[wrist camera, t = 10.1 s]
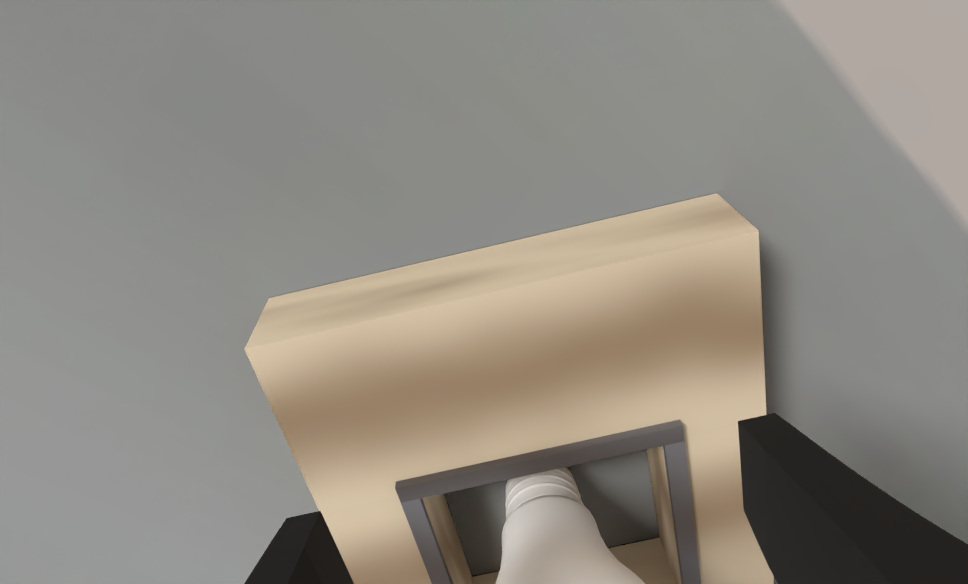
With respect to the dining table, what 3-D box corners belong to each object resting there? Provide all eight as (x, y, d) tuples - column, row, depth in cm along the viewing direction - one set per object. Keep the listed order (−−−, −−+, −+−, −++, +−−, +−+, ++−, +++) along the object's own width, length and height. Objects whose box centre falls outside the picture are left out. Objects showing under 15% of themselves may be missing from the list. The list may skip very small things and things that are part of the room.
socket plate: (747, 622, 29) (781, 697, 26) (434, 685, 30) (433, 765, 27) (716, 193, 20) (763, 234, 17) (269, 298, 21) (242, 355, 18)
